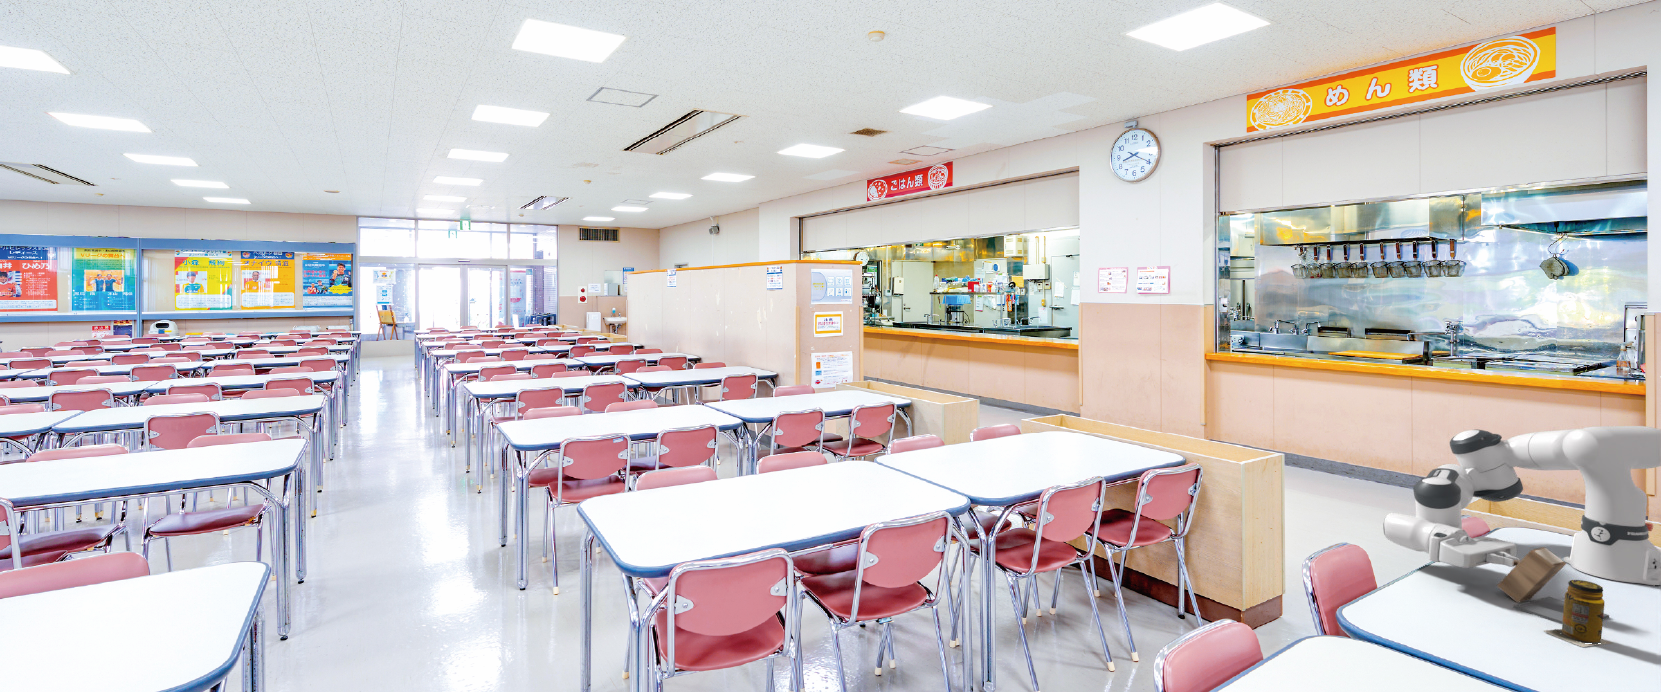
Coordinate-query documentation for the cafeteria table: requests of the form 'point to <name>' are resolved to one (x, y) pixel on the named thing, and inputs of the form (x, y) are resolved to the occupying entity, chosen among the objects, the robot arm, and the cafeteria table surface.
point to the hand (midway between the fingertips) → (1516, 562)
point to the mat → (1546, 608)
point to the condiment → (1582, 614)
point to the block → (1531, 574)
